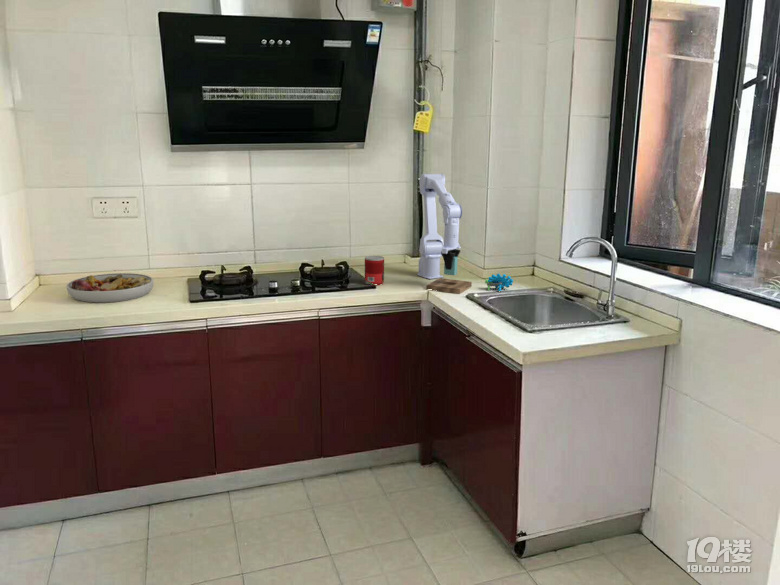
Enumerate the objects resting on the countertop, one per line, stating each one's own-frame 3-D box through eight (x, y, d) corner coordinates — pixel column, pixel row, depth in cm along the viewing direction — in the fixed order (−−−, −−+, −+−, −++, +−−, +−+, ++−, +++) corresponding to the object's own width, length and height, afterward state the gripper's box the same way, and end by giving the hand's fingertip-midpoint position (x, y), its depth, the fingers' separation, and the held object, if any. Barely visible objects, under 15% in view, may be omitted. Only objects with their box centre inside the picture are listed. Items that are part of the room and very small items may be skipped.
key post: (444, 274, 258) (444, 255, 256) (446, 272, 260) (447, 254, 258) (454, 275, 256) (455, 256, 254) (456, 274, 259) (457, 255, 257)
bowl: (118, 281, 262) (116, 262, 260) (171, 291, 248) (169, 271, 246) (49, 297, 237) (47, 277, 235) (105, 309, 223) (102, 287, 221)
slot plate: (426, 289, 257) (426, 284, 256) (439, 282, 269) (439, 277, 268) (459, 294, 251) (459, 289, 250) (471, 286, 263) (471, 281, 262)
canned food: (386, 284, 264) (387, 258, 261) (368, 286, 261) (368, 259, 258) (380, 280, 270) (380, 255, 268) (362, 282, 268) (362, 256, 265)
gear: (515, 285, 260) (510, 271, 252) (514, 297, 257) (509, 284, 249) (488, 286, 264) (483, 272, 256) (487, 298, 261) (481, 285, 253)
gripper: (454, 238, 246) (452, 272, 250) (467, 233, 259) (465, 266, 262) (437, 236, 249) (436, 270, 253) (450, 231, 262) (449, 264, 265)
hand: (450, 268), depth 258 cm, fingers closed on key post, 3 cm apart
